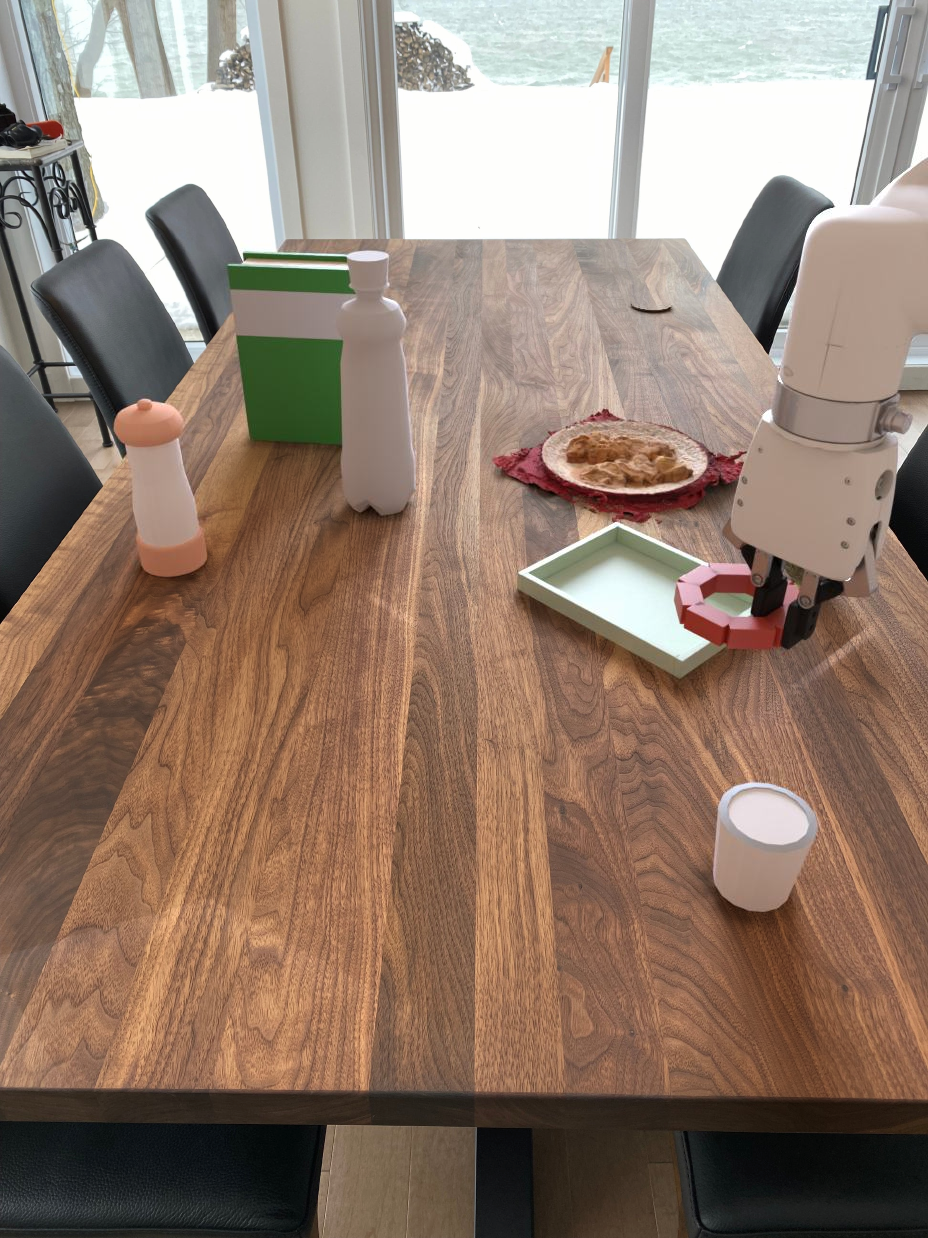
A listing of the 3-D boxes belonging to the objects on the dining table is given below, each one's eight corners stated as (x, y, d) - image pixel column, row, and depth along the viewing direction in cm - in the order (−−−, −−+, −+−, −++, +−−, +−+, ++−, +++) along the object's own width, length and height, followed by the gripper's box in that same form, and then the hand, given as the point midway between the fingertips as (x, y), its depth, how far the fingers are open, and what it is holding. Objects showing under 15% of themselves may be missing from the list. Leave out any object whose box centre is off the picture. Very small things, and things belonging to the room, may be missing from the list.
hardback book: (249, 439, 138) (227, 265, 125) (264, 419, 144) (244, 250, 131) (371, 446, 137) (362, 270, 123) (382, 425, 143) (373, 255, 129)
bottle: (425, 491, 125) (420, 248, 108) (402, 524, 118) (393, 269, 101) (358, 482, 127) (343, 242, 110) (332, 514, 120) (312, 263, 103)
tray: (775, 615, 102) (779, 595, 101) (679, 682, 93) (682, 661, 91) (614, 540, 115) (616, 521, 114) (516, 592, 106) (517, 572, 104)
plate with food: (604, 420, 145) (605, 398, 143) (753, 473, 129) (757, 449, 127) (489, 470, 132) (488, 446, 130) (638, 535, 116) (640, 510, 114)
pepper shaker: (138, 550, 113) (104, 392, 102) (202, 539, 115) (175, 383, 104) (144, 582, 107) (109, 418, 96) (211, 570, 109) (184, 408, 98)
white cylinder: (730, 833, 77) (745, 767, 73) (813, 876, 73) (834, 810, 69) (687, 886, 72) (701, 819, 69) (774, 935, 69) (793, 868, 65)
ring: (823, 616, 77) (828, 597, 76) (754, 665, 72) (759, 645, 71) (721, 569, 83) (724, 551, 82) (651, 611, 78) (654, 592, 77)
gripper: (974, 428, 62) (899, 659, 73) (759, 364, 72) (721, 576, 82) (919, 462, 58) (848, 703, 68) (699, 389, 68) (666, 610, 78)
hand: (779, 632), depth 75 cm, fingers closed on ring, 2 cm apart
